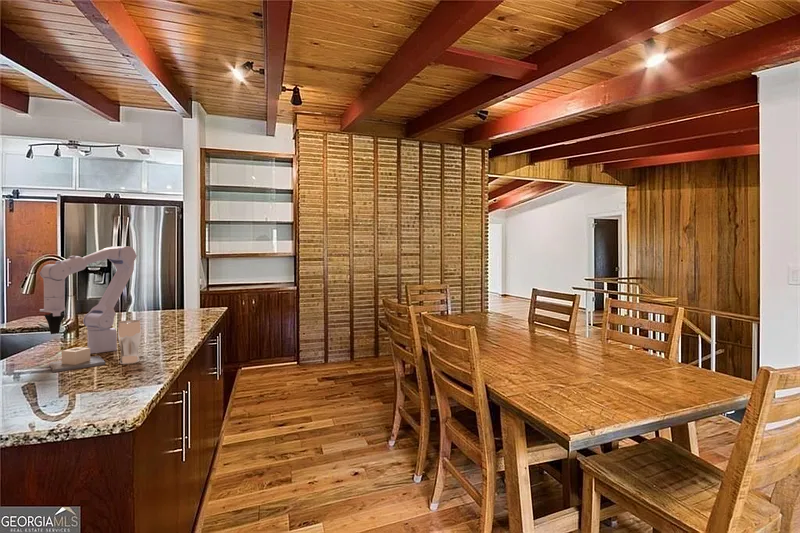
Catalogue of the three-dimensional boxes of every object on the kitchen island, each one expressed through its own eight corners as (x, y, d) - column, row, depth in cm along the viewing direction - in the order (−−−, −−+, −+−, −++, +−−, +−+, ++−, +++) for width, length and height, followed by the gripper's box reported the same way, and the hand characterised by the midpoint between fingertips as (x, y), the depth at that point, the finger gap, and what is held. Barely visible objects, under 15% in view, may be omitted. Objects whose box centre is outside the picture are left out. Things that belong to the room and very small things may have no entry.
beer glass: (145, 360, 149) (145, 320, 148) (131, 365, 142) (131, 323, 141) (128, 359, 149) (128, 319, 149) (113, 364, 142) (112, 322, 142)
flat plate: (98, 358, 150) (98, 346, 150) (105, 364, 142) (105, 352, 142) (49, 365, 140) (49, 352, 140) (53, 372, 132) (53, 359, 132)
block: (77, 359, 144) (77, 347, 144) (90, 360, 143) (90, 348, 143) (61, 363, 139) (61, 350, 139) (75, 364, 138) (75, 351, 138)
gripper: (37, 295, 148) (38, 332, 148) (41, 299, 138) (41, 338, 138) (62, 294, 153) (63, 329, 153) (67, 297, 143) (68, 335, 143)
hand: (54, 333), depth 146 cm, fingers closed
